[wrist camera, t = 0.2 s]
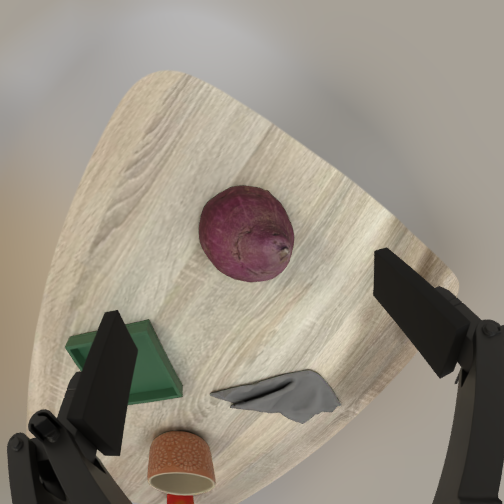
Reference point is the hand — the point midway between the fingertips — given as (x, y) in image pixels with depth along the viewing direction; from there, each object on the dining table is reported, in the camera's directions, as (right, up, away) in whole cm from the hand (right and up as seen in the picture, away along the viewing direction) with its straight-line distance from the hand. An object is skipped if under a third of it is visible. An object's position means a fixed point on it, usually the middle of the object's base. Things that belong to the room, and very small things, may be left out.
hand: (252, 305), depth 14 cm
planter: (-14, -35, +36) cm, 52 cm away
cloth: (+6, -23, +35) cm, 42 cm away
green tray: (-19, -14, +26) cm, 36 cm away
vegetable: (-1, +6, +22) cm, 22 cm away
